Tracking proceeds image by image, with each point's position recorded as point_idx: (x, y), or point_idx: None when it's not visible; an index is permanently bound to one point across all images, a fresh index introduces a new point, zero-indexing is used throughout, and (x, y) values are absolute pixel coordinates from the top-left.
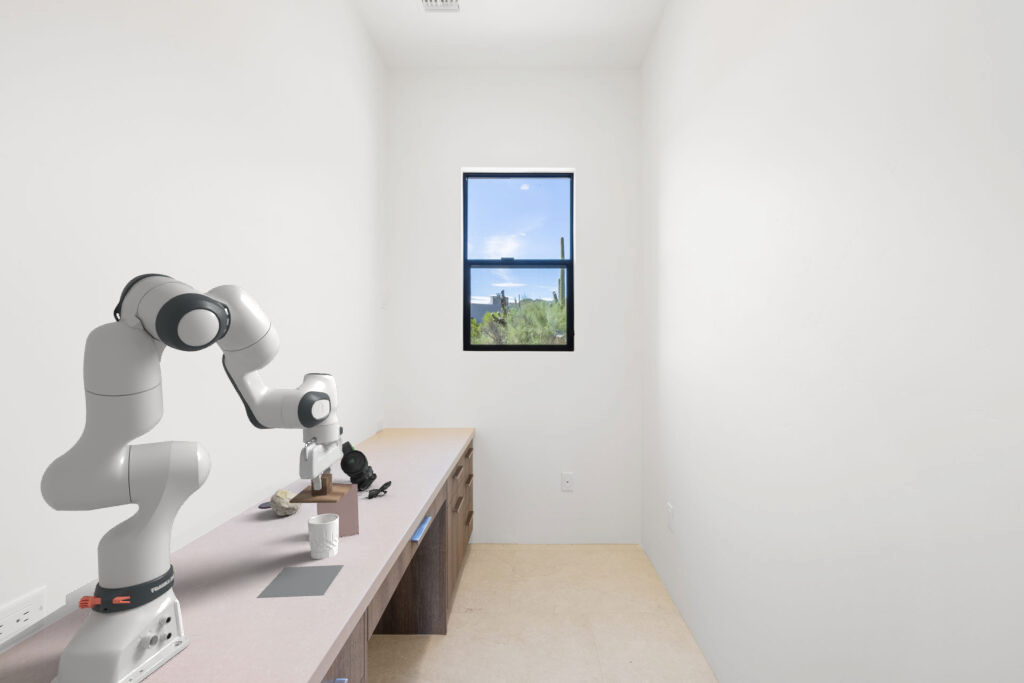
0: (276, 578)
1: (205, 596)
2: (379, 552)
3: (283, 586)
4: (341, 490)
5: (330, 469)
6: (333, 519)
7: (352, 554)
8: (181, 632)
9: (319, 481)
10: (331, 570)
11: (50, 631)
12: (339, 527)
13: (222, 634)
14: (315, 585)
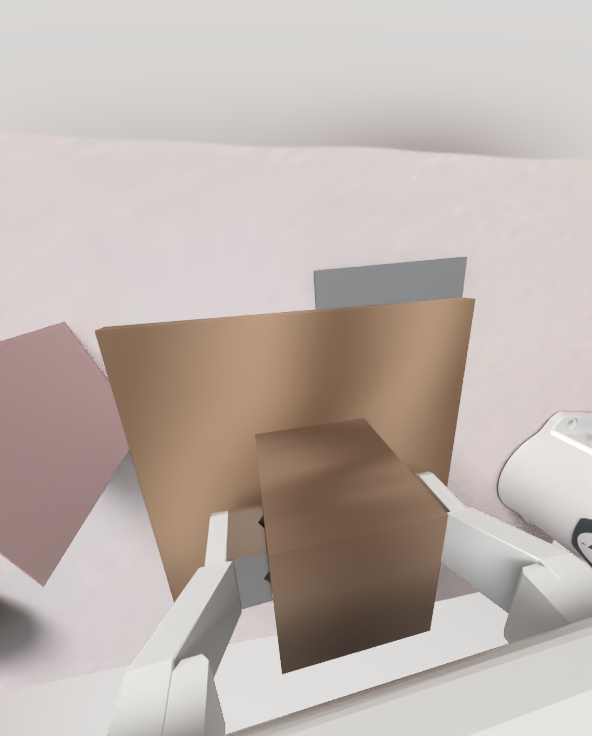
0: None
1: None
2: (207, 184)
3: None
4: (256, 363)
5: (184, 649)
6: None
7: (230, 278)
8: (561, 434)
9: (501, 524)
10: (345, 293)
11: (473, 587)
12: (89, 388)
13: (542, 382)
14: (418, 298)
